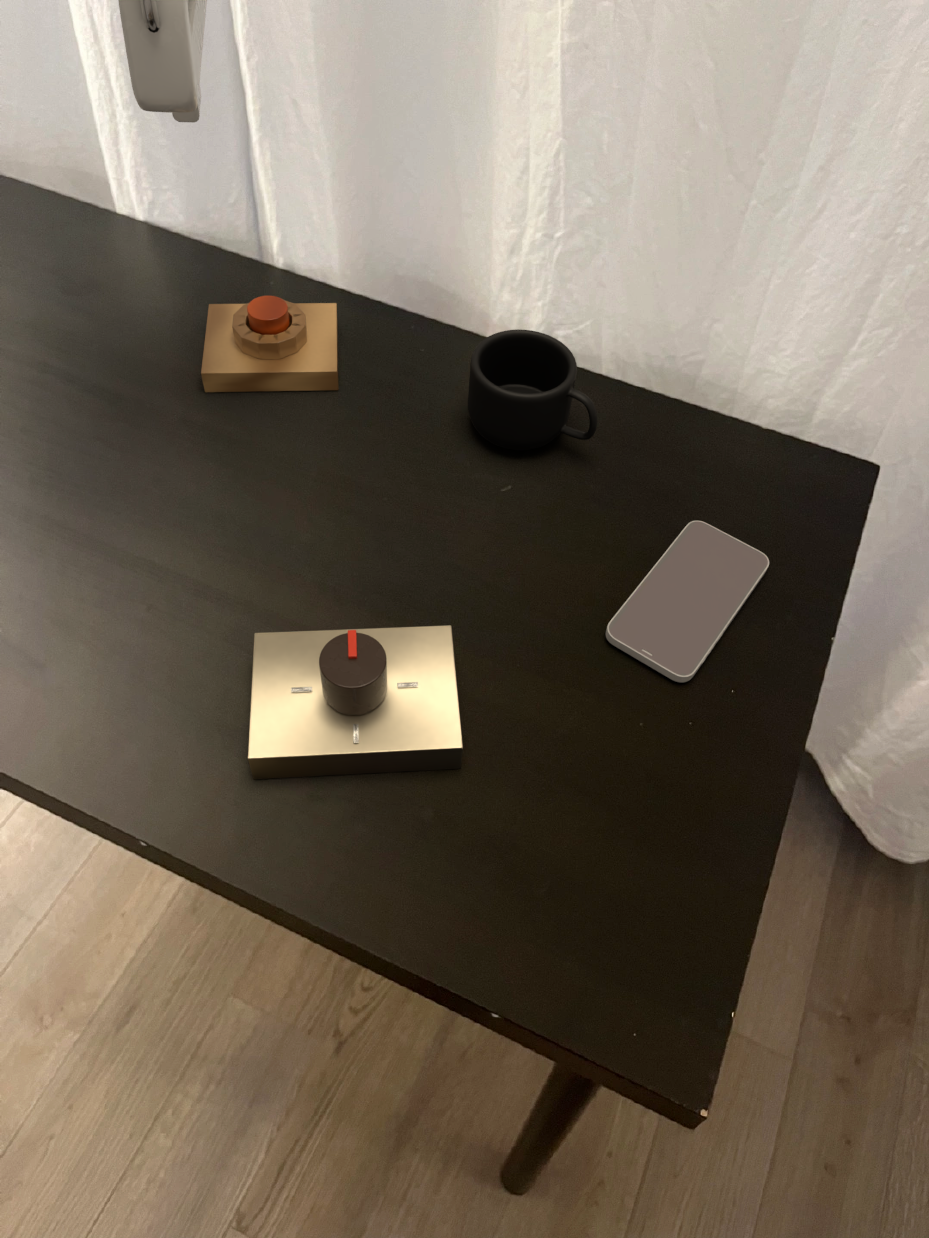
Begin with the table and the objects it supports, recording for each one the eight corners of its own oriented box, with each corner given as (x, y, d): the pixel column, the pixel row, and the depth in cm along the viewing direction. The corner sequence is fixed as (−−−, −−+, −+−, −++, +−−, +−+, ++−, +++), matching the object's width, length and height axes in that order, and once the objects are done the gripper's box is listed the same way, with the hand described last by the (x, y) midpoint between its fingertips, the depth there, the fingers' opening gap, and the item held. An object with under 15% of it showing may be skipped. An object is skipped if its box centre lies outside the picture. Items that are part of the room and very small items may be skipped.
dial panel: (253, 779, 64) (247, 757, 62) (259, 656, 70) (253, 631, 67) (460, 768, 65) (463, 746, 63) (449, 648, 71) (451, 623, 69)
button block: (204, 392, 86) (197, 356, 83) (212, 323, 92) (205, 287, 89) (338, 390, 87) (336, 355, 84) (337, 322, 93) (335, 286, 90)
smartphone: (774, 558, 77) (688, 682, 69) (771, 566, 78) (685, 689, 70) (693, 516, 79) (601, 631, 71) (690, 523, 80) (599, 638, 72)
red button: (248, 336, 86) (246, 320, 84) (250, 311, 88) (247, 295, 86) (289, 336, 86) (287, 320, 85) (290, 311, 88) (288, 295, 87)
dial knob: (388, 713, 64) (388, 683, 61) (322, 717, 64) (318, 687, 61) (385, 659, 67) (385, 627, 64) (322, 662, 66) (318, 630, 63)
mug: (446, 432, 85) (450, 368, 79) (500, 379, 90) (506, 314, 84) (563, 490, 81) (575, 428, 76) (612, 431, 86) (628, 368, 80)
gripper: (199, -53, 50) (230, 196, 61) (213, -183, 62) (237, 46, 73) (73, -58, 49) (128, 194, 60) (112, -189, 61) (151, 43, 72)
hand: (188, 112), depth 67 cm, fingers closed
